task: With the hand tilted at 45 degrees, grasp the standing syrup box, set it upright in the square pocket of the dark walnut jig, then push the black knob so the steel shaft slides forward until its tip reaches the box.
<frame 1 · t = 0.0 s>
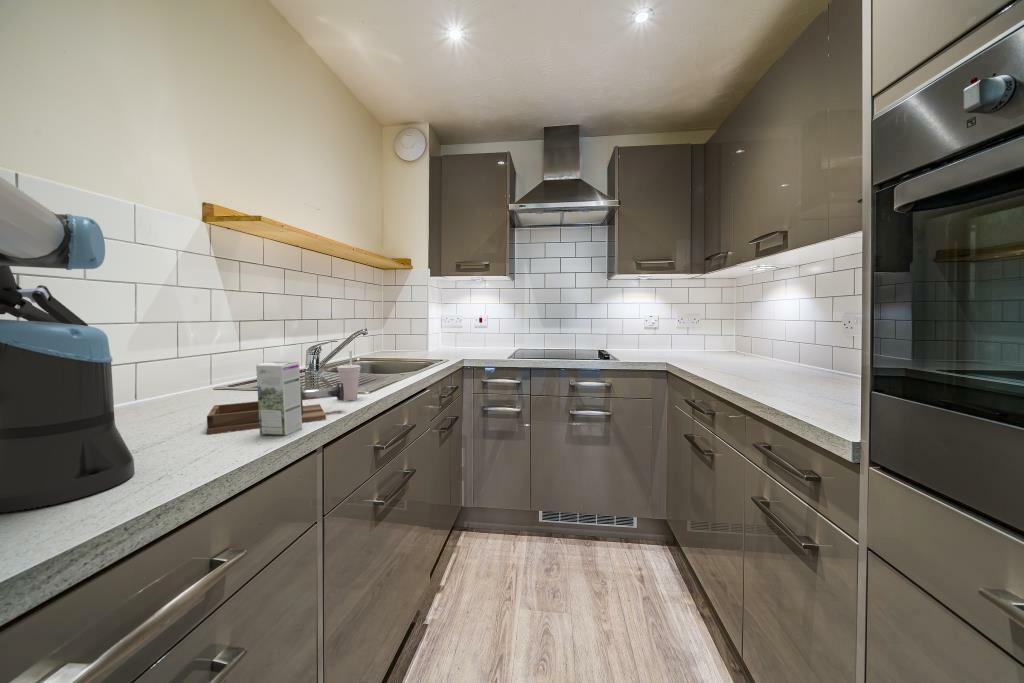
hand: (20, 364, 72), 15 cm above the counter, tool tilted 35°, fingers open, 13 cm apart
shaft: (313, 394, 97), point 5 cm above the counter, slide at 0.0 cm
syrup box: (281, 432, 82), on the counter
smoothie: (350, 400, 114), on the counter
jig: (270, 419, 92), on the counter
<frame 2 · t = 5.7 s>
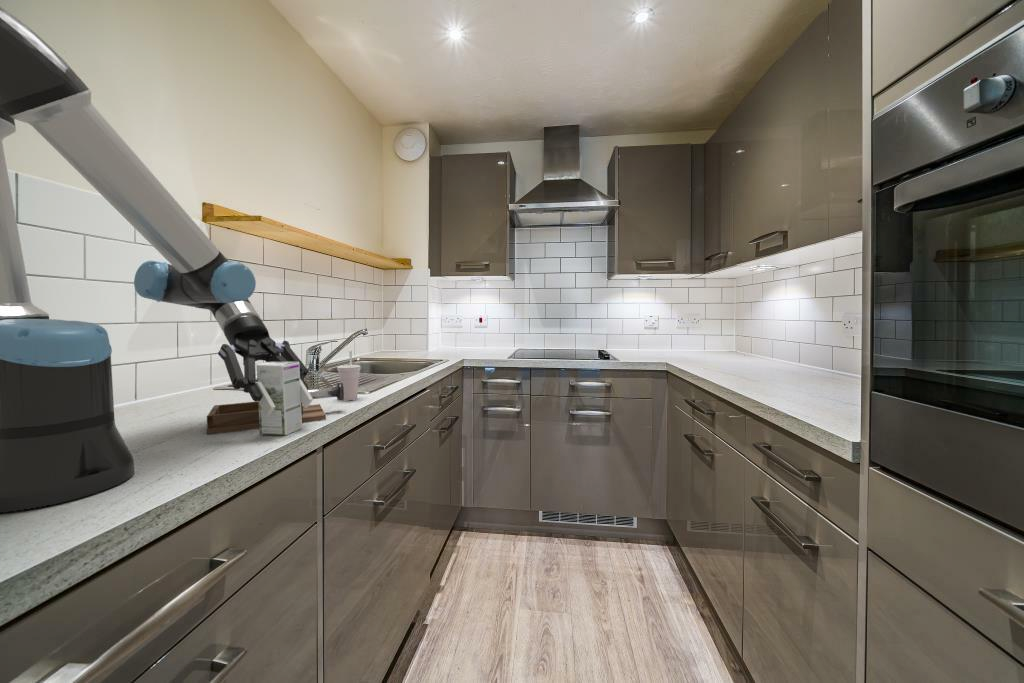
hand: (290, 407, 80), 6 cm above the counter, tool tilted 45°, fingers closed on syrup box, 7 cm apart
syrup box: (281, 432, 82), on the counter, touching gripper
everything else where it was.
when the fingers open (8 cm above the counter, at t = 11.2 s): syrup box drops 1 cm, resting on jig.
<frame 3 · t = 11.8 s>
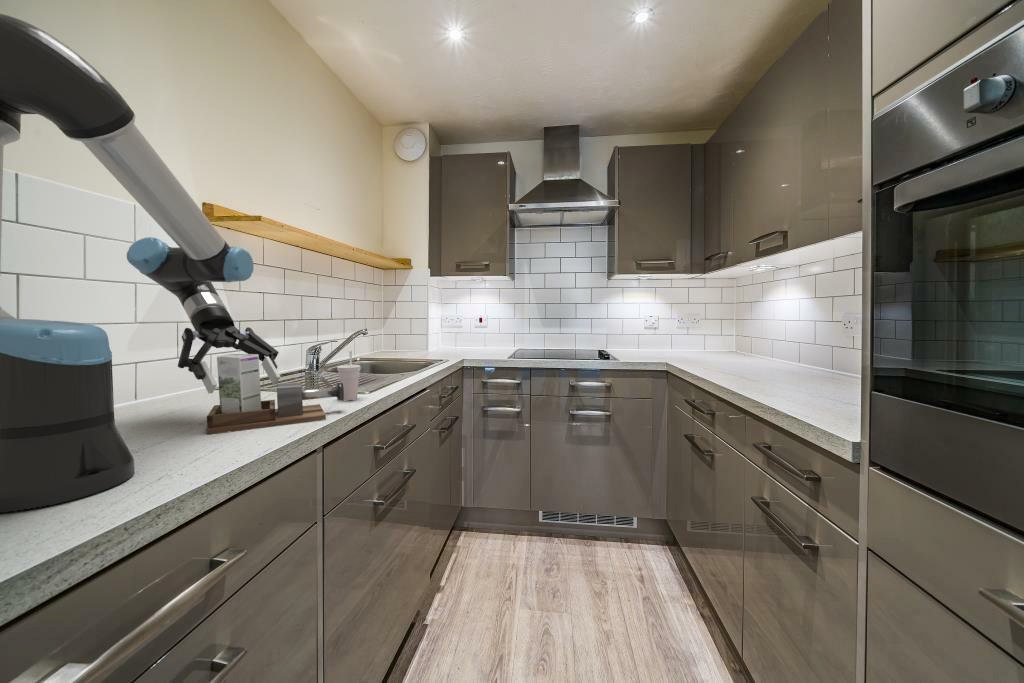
hand: (247, 384, 87), 9 cm above the counter, tool tilted 45°, fingers open, 12 cm apart
syrup box: (241, 419, 89), point 1 cm above the counter, touching jig
everything else where it was.
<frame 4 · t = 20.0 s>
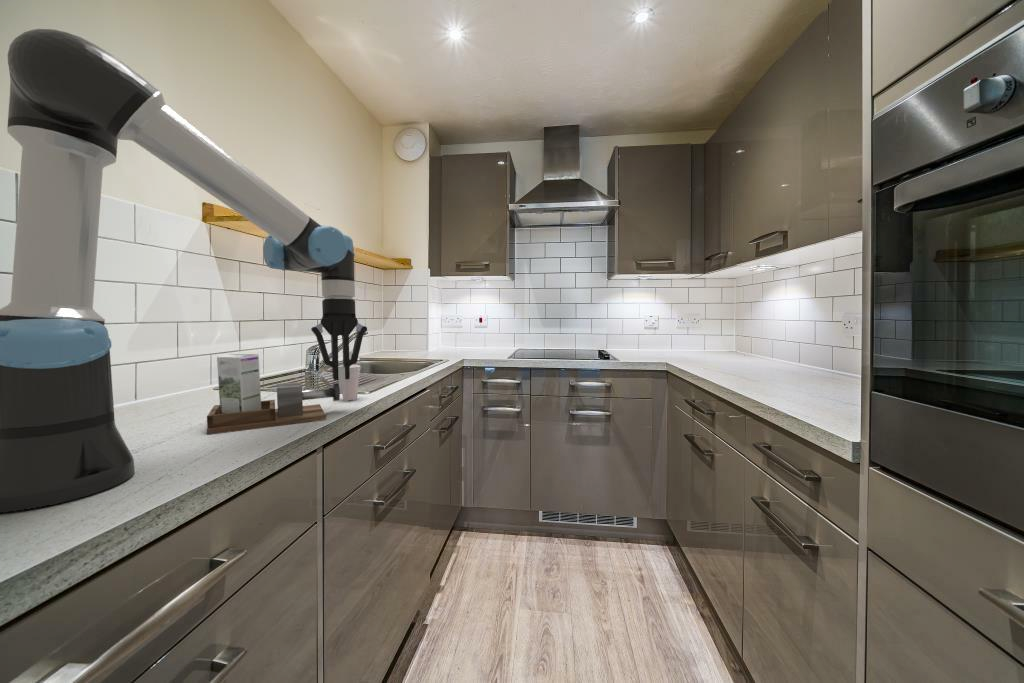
hand: (341, 392, 100), 5 cm above the counter, tool pointing down, fingers closed
shaft: (308, 394, 96), point 5 cm above the counter, slide at 1.0 cm, touching gripper
everything else where it was.
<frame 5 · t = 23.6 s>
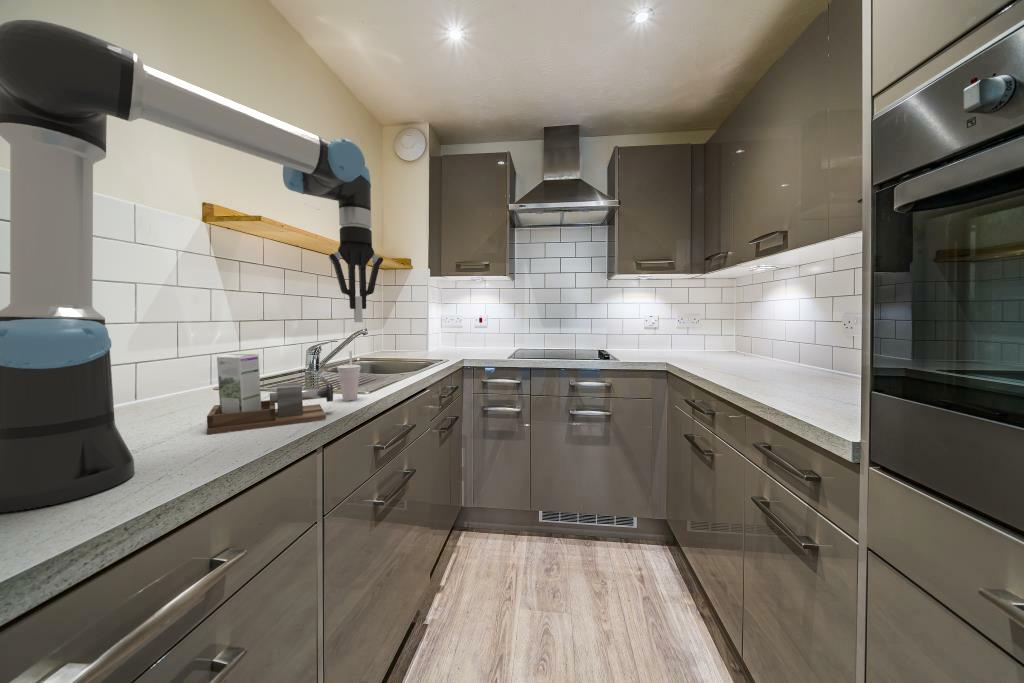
hand: (358, 322, 101), 22 cm above the counter, tool pointing down, fingers closed
shaft: (302, 395, 95), point 5 cm above the counter, slide at 2.5 cm
everything else where it was.
at the end: syrup box inside the target area on the jig (0.5 cm from its centre), point 0.8 cm above the jig's base; syrup box tilted 0°; shaft slide at 2.5 cm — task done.
